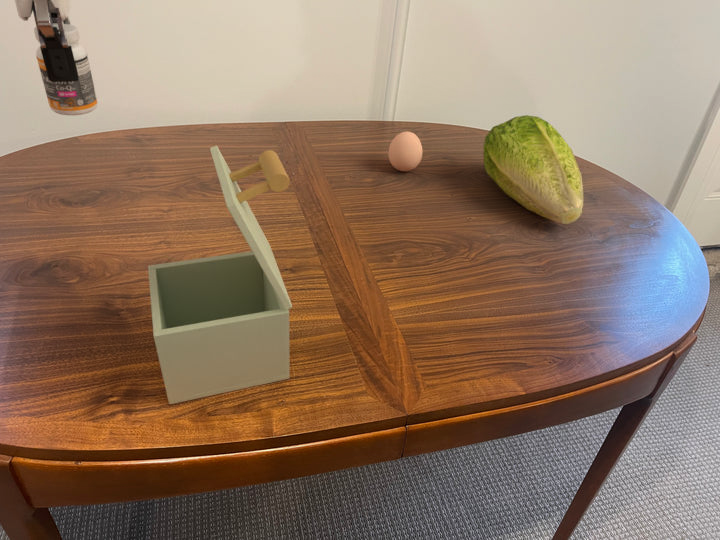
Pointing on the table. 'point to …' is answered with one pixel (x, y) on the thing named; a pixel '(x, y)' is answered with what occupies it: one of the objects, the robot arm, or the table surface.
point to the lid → (244, 214)
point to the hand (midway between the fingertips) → (65, 70)
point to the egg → (405, 151)
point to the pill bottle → (74, 93)
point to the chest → (217, 326)
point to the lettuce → (535, 168)
